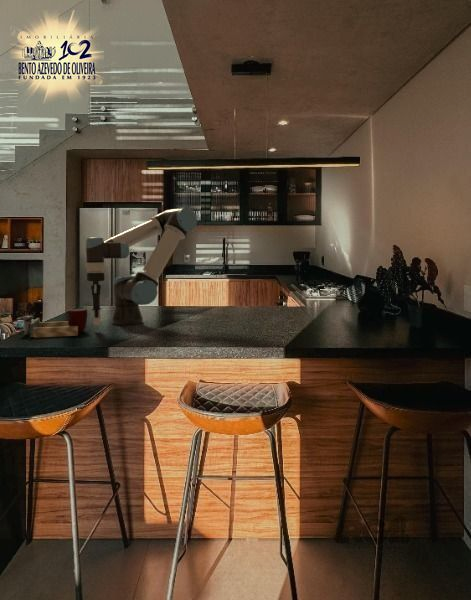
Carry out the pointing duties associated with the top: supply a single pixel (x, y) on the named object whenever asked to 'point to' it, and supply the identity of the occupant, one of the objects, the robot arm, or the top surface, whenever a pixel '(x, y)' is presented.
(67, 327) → the wooden tray
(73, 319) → the mug
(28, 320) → the winch post
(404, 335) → the top surface
